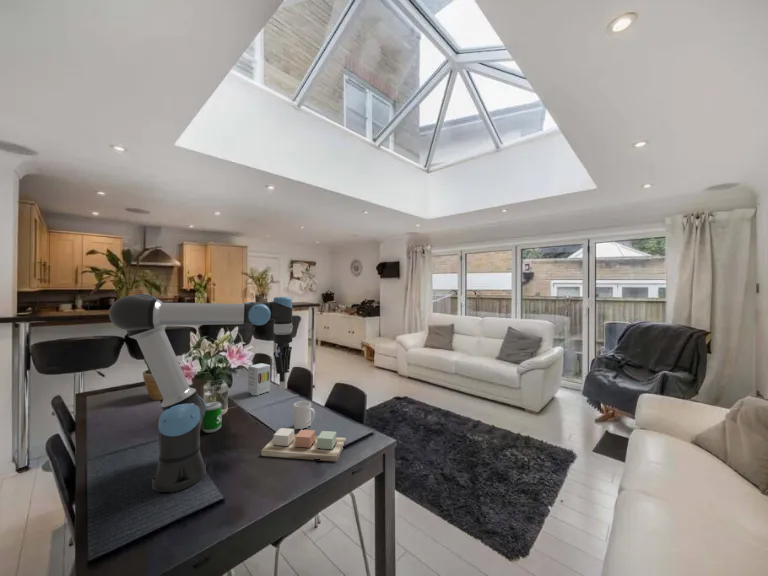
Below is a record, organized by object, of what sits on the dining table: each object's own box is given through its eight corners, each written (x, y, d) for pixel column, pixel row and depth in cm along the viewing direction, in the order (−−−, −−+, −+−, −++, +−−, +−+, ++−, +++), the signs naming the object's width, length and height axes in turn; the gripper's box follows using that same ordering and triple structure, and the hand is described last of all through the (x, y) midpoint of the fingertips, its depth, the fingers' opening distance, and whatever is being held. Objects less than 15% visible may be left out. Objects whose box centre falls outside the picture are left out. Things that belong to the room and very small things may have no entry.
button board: (336, 461, 115) (336, 456, 115) (261, 455, 119) (261, 450, 119) (345, 442, 129) (345, 437, 129) (278, 437, 133) (278, 433, 133)
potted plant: (162, 390, 191) (162, 350, 191) (189, 392, 188) (189, 351, 188) (134, 401, 173) (134, 357, 173) (163, 403, 170) (163, 358, 170)
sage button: (332, 449, 120) (332, 439, 120) (317, 448, 121) (317, 438, 120) (336, 441, 126) (336, 431, 126) (322, 440, 126) (322, 430, 126)
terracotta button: (309, 447, 121) (309, 437, 121) (295, 446, 122) (295, 436, 122) (315, 440, 127) (315, 430, 127) (301, 439, 128) (301, 429, 128)
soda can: (213, 434, 136) (213, 407, 135) (198, 432, 137) (198, 405, 137) (225, 426, 143) (225, 401, 143) (211, 425, 144) (211, 399, 144)
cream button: (288, 446, 122) (288, 435, 122) (273, 444, 123) (273, 434, 123) (294, 438, 128) (294, 428, 128) (280, 437, 129) (280, 428, 129)
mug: (290, 426, 143) (290, 404, 143) (303, 420, 150) (303, 399, 150) (307, 434, 136) (307, 410, 136) (320, 428, 143) (320, 405, 142)
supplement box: (256, 396, 182) (256, 368, 181) (247, 393, 187) (247, 365, 186) (270, 392, 190) (270, 364, 189) (261, 389, 195) (261, 362, 195)
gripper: (285, 335, 124) (285, 394, 124) (297, 331, 137) (297, 383, 137) (267, 335, 125) (267, 393, 125) (281, 330, 138) (281, 383, 138)
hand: (283, 388), depth 131 cm, fingers closed
